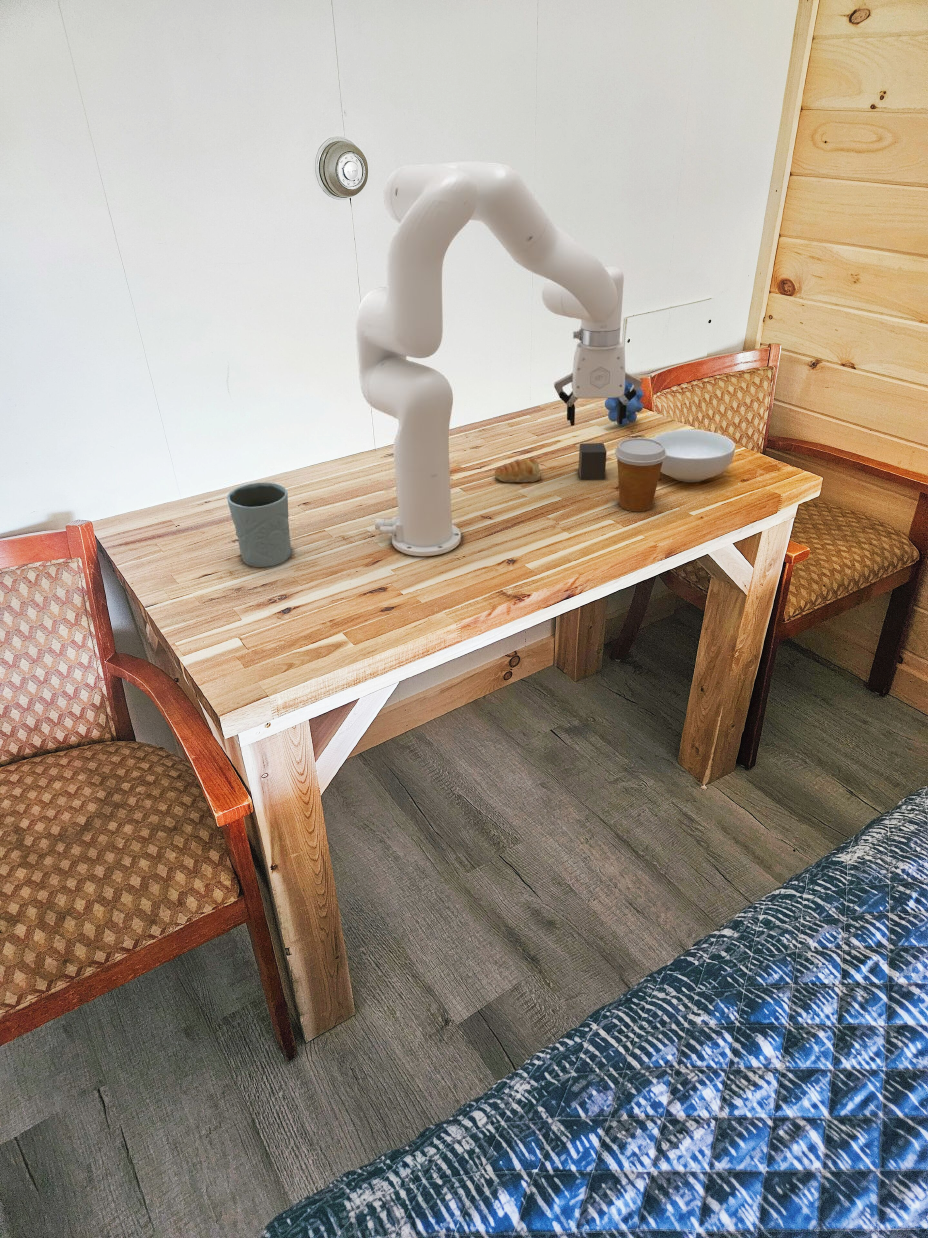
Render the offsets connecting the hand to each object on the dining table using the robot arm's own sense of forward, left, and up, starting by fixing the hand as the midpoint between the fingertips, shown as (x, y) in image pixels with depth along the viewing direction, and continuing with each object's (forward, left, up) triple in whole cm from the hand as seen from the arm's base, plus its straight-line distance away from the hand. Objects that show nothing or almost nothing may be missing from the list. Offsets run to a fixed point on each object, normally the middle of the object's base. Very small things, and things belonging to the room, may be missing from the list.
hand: (595, 422), depth 166 cm
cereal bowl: (+20, -1, -11) cm, 23 cm away
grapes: (+11, +28, -11) cm, 32 cm away
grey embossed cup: (-61, -34, -11) cm, 71 cm away
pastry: (-15, -1, -11) cm, 19 cm away
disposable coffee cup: (+7, -15, -11) cm, 20 cm away
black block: (0, 0, -11) cm, 11 cm away
